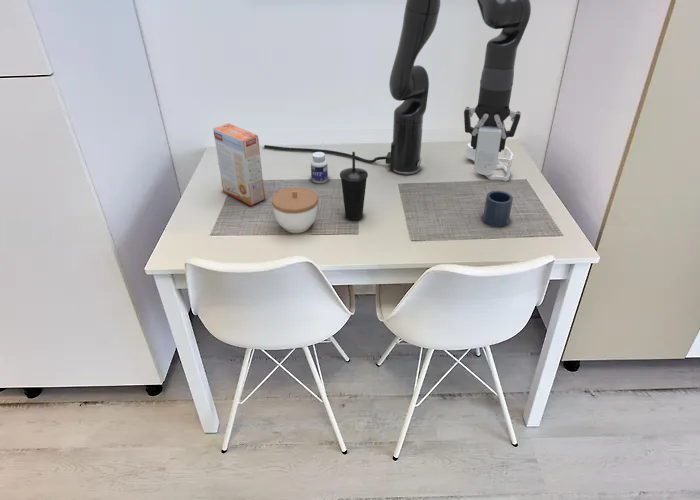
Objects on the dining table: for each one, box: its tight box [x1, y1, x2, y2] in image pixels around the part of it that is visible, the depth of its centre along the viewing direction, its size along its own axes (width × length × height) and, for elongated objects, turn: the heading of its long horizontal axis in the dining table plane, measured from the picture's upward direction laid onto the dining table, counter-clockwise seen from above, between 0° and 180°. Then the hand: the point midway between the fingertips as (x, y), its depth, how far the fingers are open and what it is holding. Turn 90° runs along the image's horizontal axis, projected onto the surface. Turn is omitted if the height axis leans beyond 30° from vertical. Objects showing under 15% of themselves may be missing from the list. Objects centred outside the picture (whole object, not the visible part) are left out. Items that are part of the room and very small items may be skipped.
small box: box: [473, 124, 502, 171], centre depth 137 cm, size 8×6×10 cm
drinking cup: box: [339, 151, 369, 222], centre depth 147 cm, size 8×8×20 cm
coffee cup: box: [482, 190, 514, 228], centre depth 148 cm, size 7×7×8 cm
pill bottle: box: [310, 152, 329, 184], centre depth 169 cm, size 5×5×9 cm
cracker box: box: [212, 122, 266, 206], centre depth 158 cm, size 14×6×21 cm, turn 47°
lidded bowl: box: [270, 186, 319, 234], centre depth 146 cm, size 13×13×11 cm
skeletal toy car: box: [465, 142, 514, 182], centre depth 175 cm, size 20×11×7 cm, turn 7°
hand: (487, 149), depth 138 cm, fingers closed on small box, 6 cm apart
